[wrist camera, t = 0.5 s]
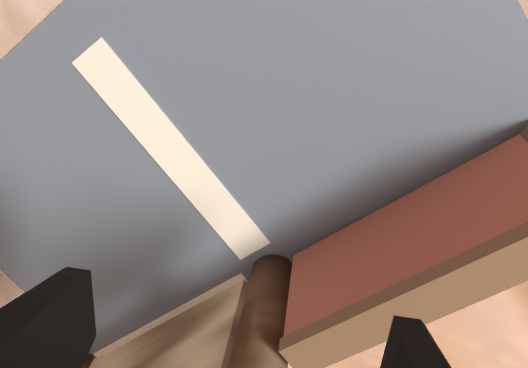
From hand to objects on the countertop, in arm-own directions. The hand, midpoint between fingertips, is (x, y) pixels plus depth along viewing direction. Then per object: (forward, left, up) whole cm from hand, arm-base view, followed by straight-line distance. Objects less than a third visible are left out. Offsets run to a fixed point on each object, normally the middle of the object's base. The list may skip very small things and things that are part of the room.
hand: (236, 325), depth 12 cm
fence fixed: (-4, +9, -9) cm, 13 cm away
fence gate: (-4, -4, -9) cm, 10 cm away
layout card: (+1, +2, -9) cm, 9 cm away
